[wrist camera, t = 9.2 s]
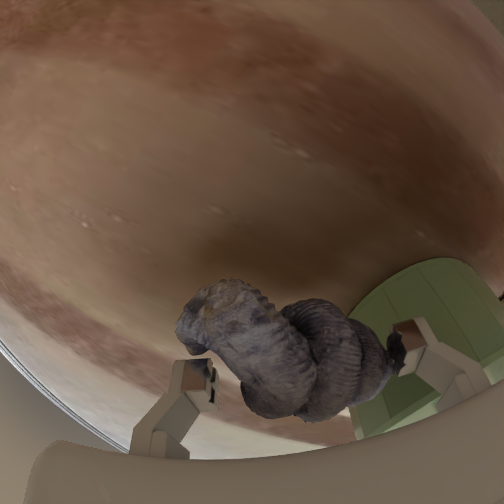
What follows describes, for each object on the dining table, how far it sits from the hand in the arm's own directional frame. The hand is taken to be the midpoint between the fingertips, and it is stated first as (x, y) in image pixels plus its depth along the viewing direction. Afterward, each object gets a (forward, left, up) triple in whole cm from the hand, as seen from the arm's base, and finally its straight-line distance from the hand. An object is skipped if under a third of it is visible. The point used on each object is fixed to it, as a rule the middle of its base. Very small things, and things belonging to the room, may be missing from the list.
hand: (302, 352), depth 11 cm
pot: (-10, +8, -6) cm, 14 cm away
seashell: (0, 0, -2) cm, 2 cm away
